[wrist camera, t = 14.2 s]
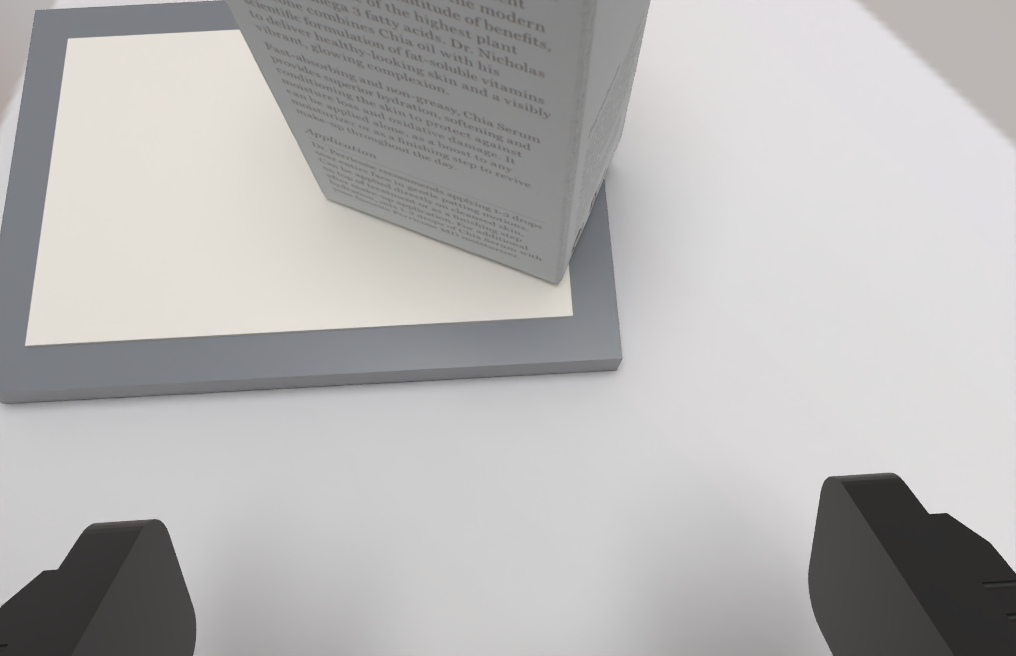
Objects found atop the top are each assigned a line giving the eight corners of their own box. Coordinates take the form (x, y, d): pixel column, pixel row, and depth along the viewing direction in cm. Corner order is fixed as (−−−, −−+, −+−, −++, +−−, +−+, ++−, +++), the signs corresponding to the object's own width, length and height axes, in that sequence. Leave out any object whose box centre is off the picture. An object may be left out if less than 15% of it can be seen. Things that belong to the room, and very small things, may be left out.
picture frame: (4, 403, 18) (-29, 392, 17) (57, 36, 21) (32, 7, 20) (616, 369, 18) (622, 357, 17) (581, 8, 21) (584, -22, 20)
